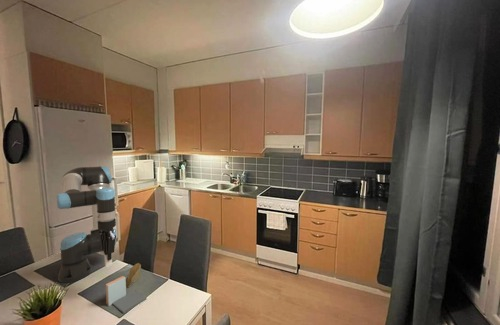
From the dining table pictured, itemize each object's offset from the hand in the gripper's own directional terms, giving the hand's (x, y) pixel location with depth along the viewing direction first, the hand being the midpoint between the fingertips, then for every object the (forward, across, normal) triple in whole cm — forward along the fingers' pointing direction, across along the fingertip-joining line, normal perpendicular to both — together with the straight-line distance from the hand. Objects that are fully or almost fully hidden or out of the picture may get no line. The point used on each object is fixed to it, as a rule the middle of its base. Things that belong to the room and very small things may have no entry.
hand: (108, 265), depth 109 cm
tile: (+16, +6, 0) cm, 17 cm away
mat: (+16, +13, +3) cm, 21 cm away
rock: (+16, -2, +12) cm, 20 cm away
